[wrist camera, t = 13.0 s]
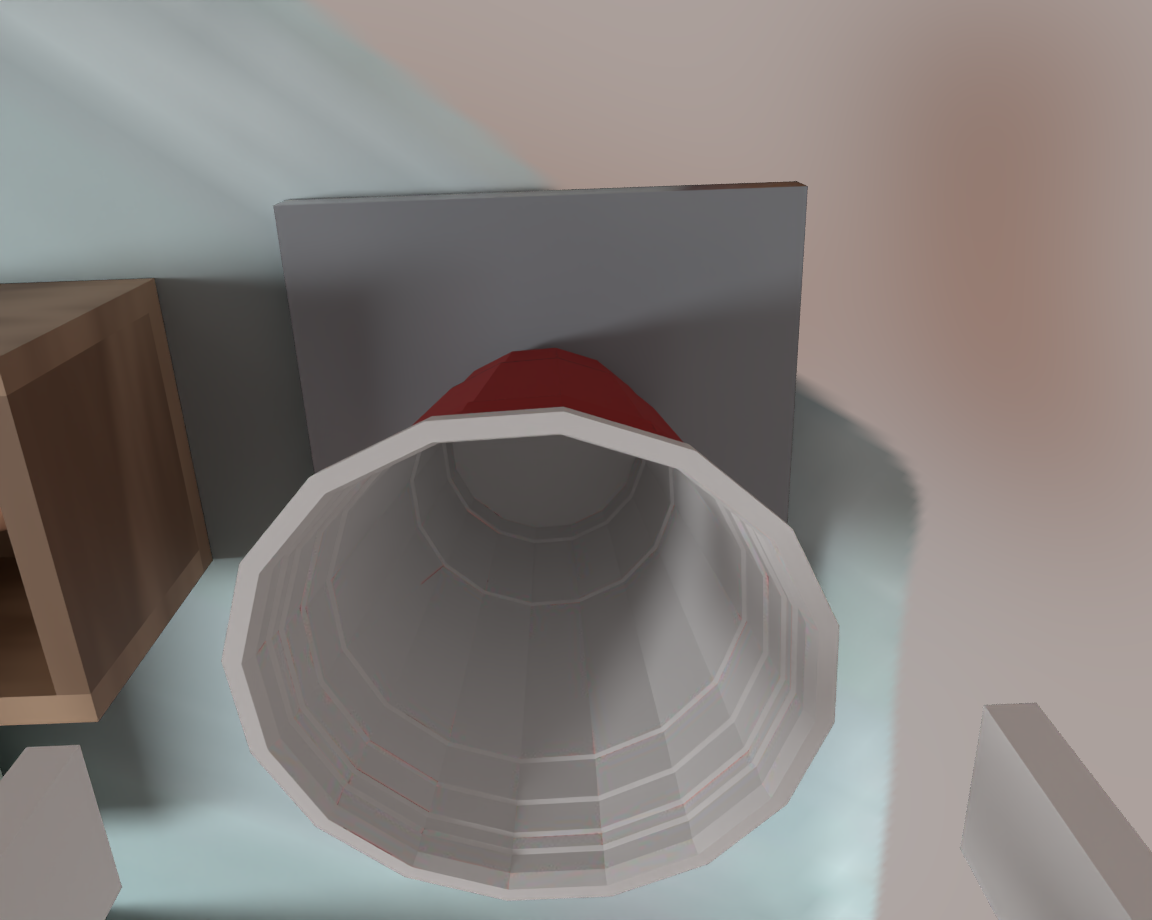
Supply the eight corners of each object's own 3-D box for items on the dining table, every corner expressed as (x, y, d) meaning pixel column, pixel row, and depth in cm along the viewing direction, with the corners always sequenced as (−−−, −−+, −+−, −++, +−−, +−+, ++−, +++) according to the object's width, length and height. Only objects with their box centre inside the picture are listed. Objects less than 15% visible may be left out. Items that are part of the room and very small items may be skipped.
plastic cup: (295, 515, 28) (121, 809, 17) (455, 187, 24) (369, 280, 13) (610, 660, 30) (643, 1004, 19) (799, 377, 26) (976, 596, 15)
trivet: (350, 635, 31) (342, 656, 30) (285, 200, 25) (273, 205, 24) (772, 619, 31) (780, 639, 30) (796, 181, 25) (807, 186, 24)
